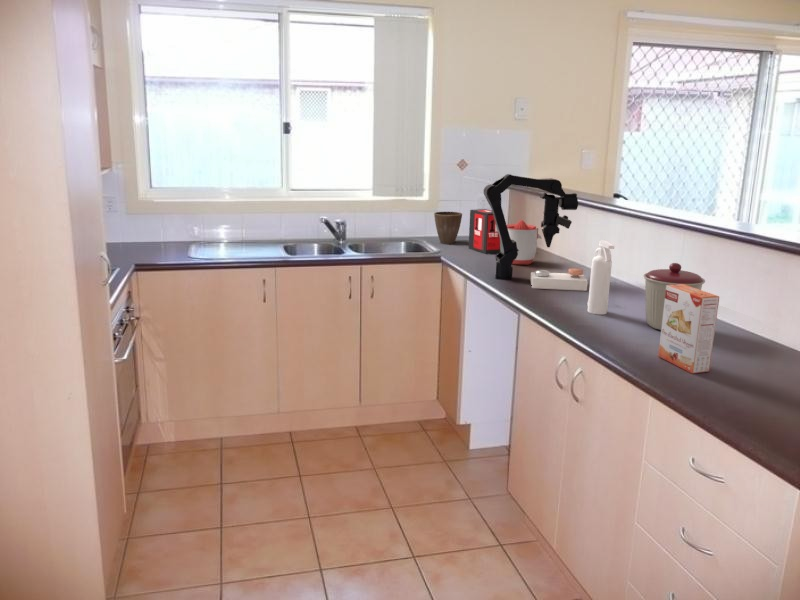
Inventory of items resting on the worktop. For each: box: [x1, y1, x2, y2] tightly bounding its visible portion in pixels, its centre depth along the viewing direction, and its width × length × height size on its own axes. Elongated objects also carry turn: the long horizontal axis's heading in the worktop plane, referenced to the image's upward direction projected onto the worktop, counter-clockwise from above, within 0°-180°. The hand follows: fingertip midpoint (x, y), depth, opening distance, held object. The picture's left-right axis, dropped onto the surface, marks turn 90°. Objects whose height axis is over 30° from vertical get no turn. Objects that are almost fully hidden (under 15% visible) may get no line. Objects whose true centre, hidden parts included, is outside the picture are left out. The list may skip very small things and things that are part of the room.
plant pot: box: [433, 211, 463, 245], centre depth 366 cm, size 15×15×16 cm
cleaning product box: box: [468, 208, 501, 255], centre depth 345 cm, size 16×9×20 cm, turn 25°
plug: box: [534, 269, 550, 277], centre depth 273 cm, size 6×6×5 cm
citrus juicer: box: [506, 219, 543, 266], centre depth 316 cm, size 16×17×20 cm
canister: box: [643, 262, 706, 331], centre depth 216 cm, size 18×18×21 cm
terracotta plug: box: [568, 267, 584, 278], centre depth 272 cm, size 6×6×5 cm
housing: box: [529, 271, 588, 292], centre depth 273 cm, size 21×12×4 cm, turn 83°
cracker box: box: [657, 284, 720, 375], centre depth 182 cm, size 14×6×21 cm, turn 17°
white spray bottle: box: [586, 239, 615, 315], centre depth 234 cm, size 7×12×25 cm, turn 9°
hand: (548, 247), depth 285 cm, fingers closed
